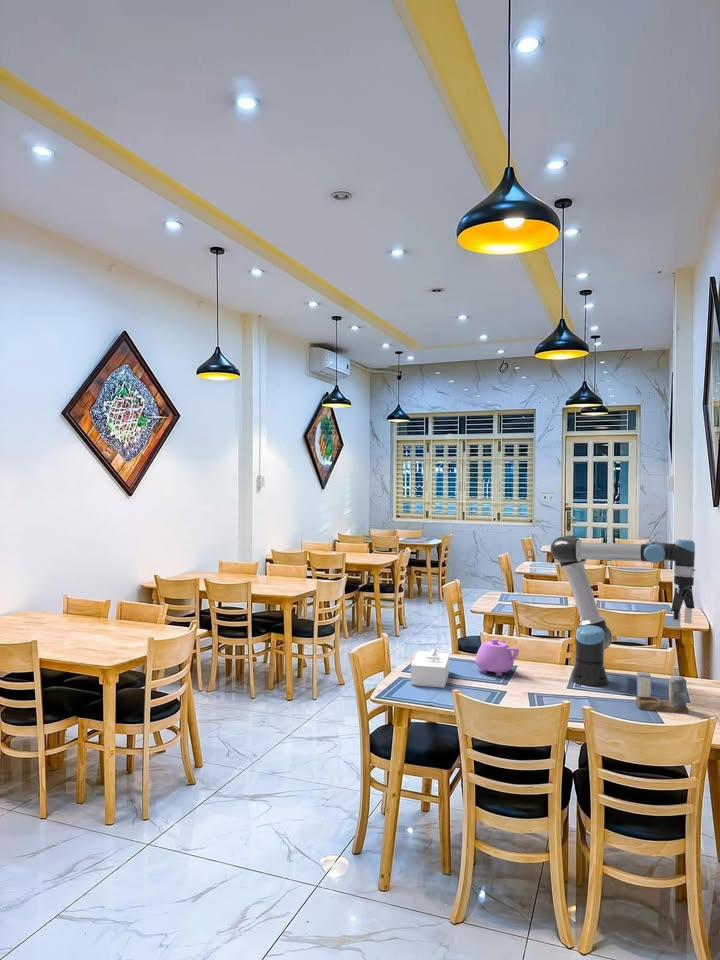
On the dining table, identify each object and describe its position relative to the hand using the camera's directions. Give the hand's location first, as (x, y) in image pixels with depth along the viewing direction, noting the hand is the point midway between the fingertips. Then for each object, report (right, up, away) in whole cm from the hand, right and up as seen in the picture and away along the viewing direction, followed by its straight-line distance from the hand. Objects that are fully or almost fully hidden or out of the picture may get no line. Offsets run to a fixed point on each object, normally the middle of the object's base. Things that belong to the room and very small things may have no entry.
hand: (682, 625), depth 278 cm
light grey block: (-24, -26, -16) cm, 39 cm away
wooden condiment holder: (-22, -26, -28) cm, 44 cm away
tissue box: (-107, -26, +8) cm, 111 cm away
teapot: (-74, -26, +20) cm, 81 cm away
